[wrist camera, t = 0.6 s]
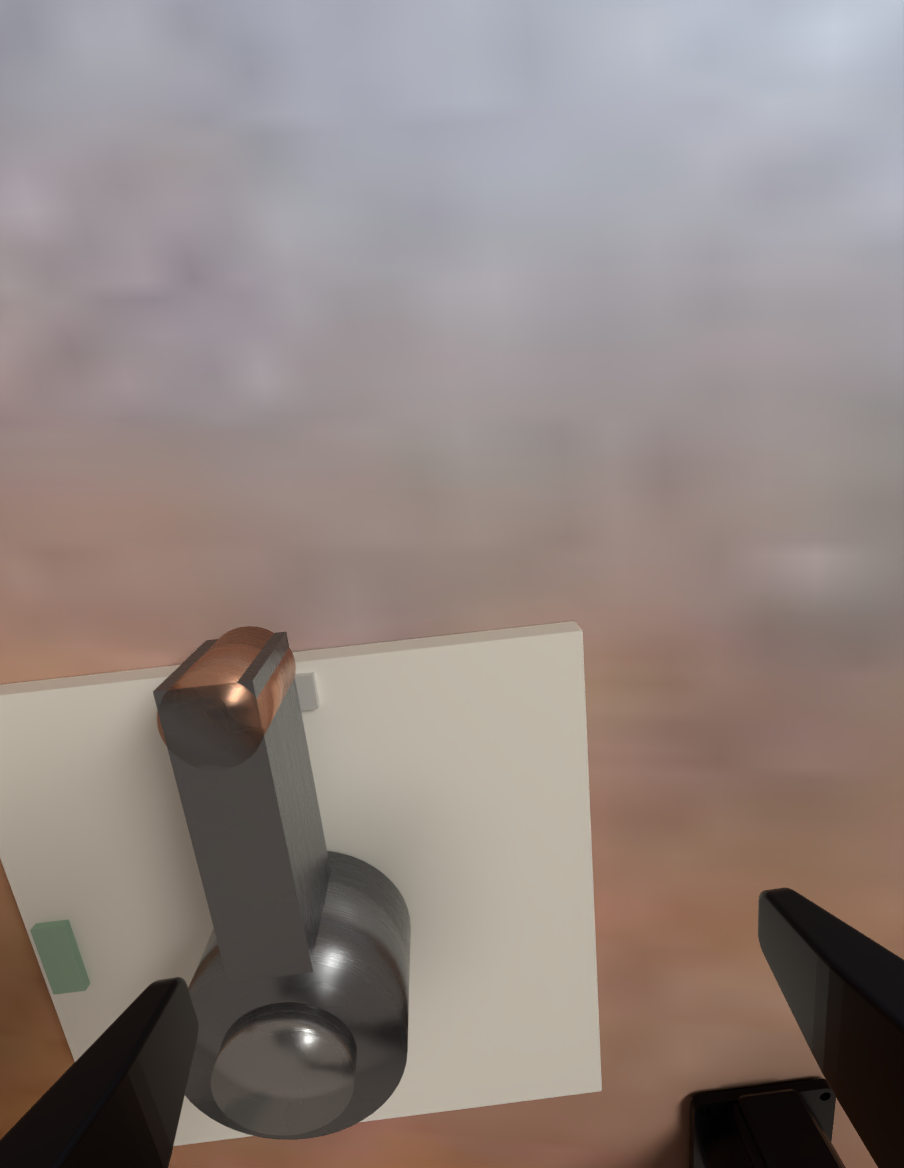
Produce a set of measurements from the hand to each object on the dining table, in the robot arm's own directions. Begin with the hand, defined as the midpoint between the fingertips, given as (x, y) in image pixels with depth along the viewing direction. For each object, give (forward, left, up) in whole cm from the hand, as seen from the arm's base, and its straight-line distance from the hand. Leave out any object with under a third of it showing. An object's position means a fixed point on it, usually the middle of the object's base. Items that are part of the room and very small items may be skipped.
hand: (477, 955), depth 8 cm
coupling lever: (-6, +6, -11) cm, 13 cm away
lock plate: (-10, +6, -12) cm, 17 cm away
